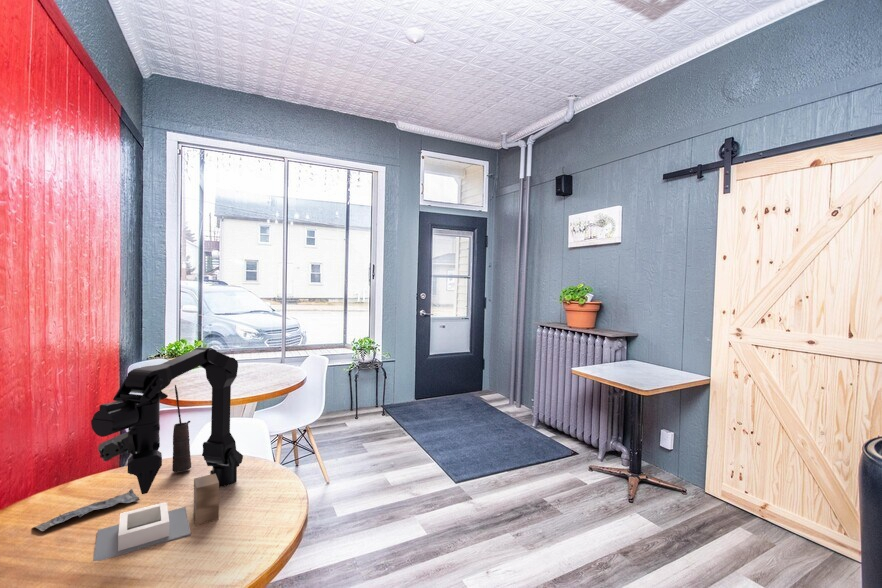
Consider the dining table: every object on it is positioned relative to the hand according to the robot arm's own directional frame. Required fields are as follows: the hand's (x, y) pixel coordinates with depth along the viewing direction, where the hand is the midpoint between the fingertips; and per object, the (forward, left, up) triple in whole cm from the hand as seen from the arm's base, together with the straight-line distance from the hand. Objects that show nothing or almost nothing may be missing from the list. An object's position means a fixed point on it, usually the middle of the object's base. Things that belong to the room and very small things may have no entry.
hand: (144, 485), depth 97 cm
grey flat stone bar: (+8, -16, -16) cm, 24 cm away
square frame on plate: (0, 0, -12) cm, 12 cm away
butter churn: (-11, -36, -13) cm, 39 cm away
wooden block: (-13, 0, -12) cm, 18 cm away
